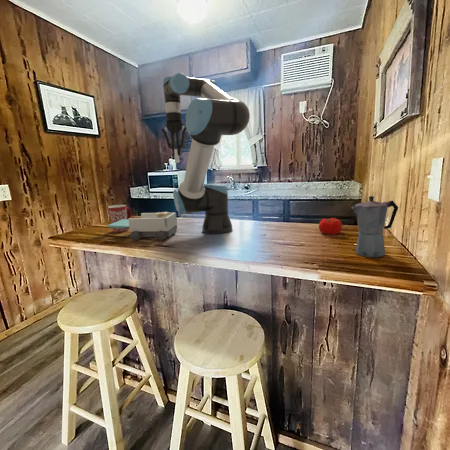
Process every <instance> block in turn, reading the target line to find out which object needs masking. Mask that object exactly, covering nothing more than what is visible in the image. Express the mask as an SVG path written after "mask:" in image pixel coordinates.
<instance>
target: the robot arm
mask: <svg viewBox="0 0 450 450" xmlns="http://www.w3.org/2000/svg"><path fill="white" fill-rule="evenodd" d="M162 83H163V85H162V87H163V95H164V97H163V98H164V106H165V107H164V108H165V113H166V114H165V119H166V124H165V127H164V128H161V131H162V133H163V134H164V137H165V140H166V145H167V147H168V148H169V149H171V150H172V157H174V163H176V164H177V163H180V162H181V161H180V157H181V156H182V153H181V151H182V150H181V149H183V148H184V147H185V143H186V136H187V133H188V135H189V137H190V138H191V144H190V149H189V153H188V158H187V159H188V160H187V165H186V167H185V168H186V169H185V174H184V178H183V181H182V182H181V183H180V184H179V186H178V188H176V189H174V190H173V193H172V194H173V196H172V197H173V202H174V206H175V209H176V211H177V213H179V214H181V215H183V214H184V215H185V214H186V215H187V214H192V213H193V214H194V213H201V212H204V220H203V223H202V225H201V227H202V232H203V233H206V234H212V235H213V234H225V233H229V232H232V231H233V224H232V221H231V218H230V216H229V198H228V197H229V193H228V187H227V186H226V185H223V184H212V183H211V184H210V183H205V181H206V177H207V173H208V170H209V166H210V162H211V158H212V157H213V156H212V155H213V152H214V149H215V146H217V145H219V143H220V141H221V139H222V136H234V135H237V134H240V133H241V132H243V131H244V130H245V129H246V128H247V126H248V124H249V121H250V109H249V107H248V106H247V105H246V104H245V102H244V101H242V100H241V99H239V98H235V97H231V96H230V95H229V94H228V93H226V92H224V91H223V90H222V89H220V88H219V87H218V83H217V81H216V80H212V79H208V78H196V77H189V76H187V75H186V74H184V73H182V72H177V73H176V74H174V75H173V76H166V77H164V78H163V81H162ZM181 96H186V97H187V96H188V97H195V98H194V99H193V100H191V101H190V102H189V104H188V106H187V109H186V113H185V126H184V124H183V120H182V119H183V118H182V113H181V112H182V107H181V106H182V105H181ZM168 131H169V132H168ZM181 131H182V132H181ZM169 133H170V136H169ZM180 135H181V137H180Z"/></svg>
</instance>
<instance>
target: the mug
mask: <svg viewBox="0 0 450 450" xmlns="http://www.w3.org/2000/svg"><path fill="white" fill-rule="evenodd" d="M107 209H108V211H109V217H110V222H111V224H112V223H114V222H117V221H119V220H122V219H129V218H131V216H132V210H131V208H130V207H128V206H127V204H113V205H109V206H108V207H107ZM127 212H128V213H127ZM128 230H129V228H128V229H125V228H112V232H113V233H124V232H127V231H128Z"/></svg>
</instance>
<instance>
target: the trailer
mask: <svg viewBox="0 0 450 450" xmlns="http://www.w3.org/2000/svg"><path fill="white" fill-rule="evenodd" d="M156 213H157V212H142V213H140V217H134V218H133V217H132V218H131V217H130V218H129V219H128V220H129V228H128V229H129V232H130V233H129V238H130V240H131V241H133V242H137V241H140V240H141V238H146V237H147V238H155V240H157V241H158V242H163V241H164V240H165V239H166V238H170V237H171V236H172V235H173V234H174V233H176V232H177V229H178V221H177V212H168V216H167V217H166V218H156Z"/></svg>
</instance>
